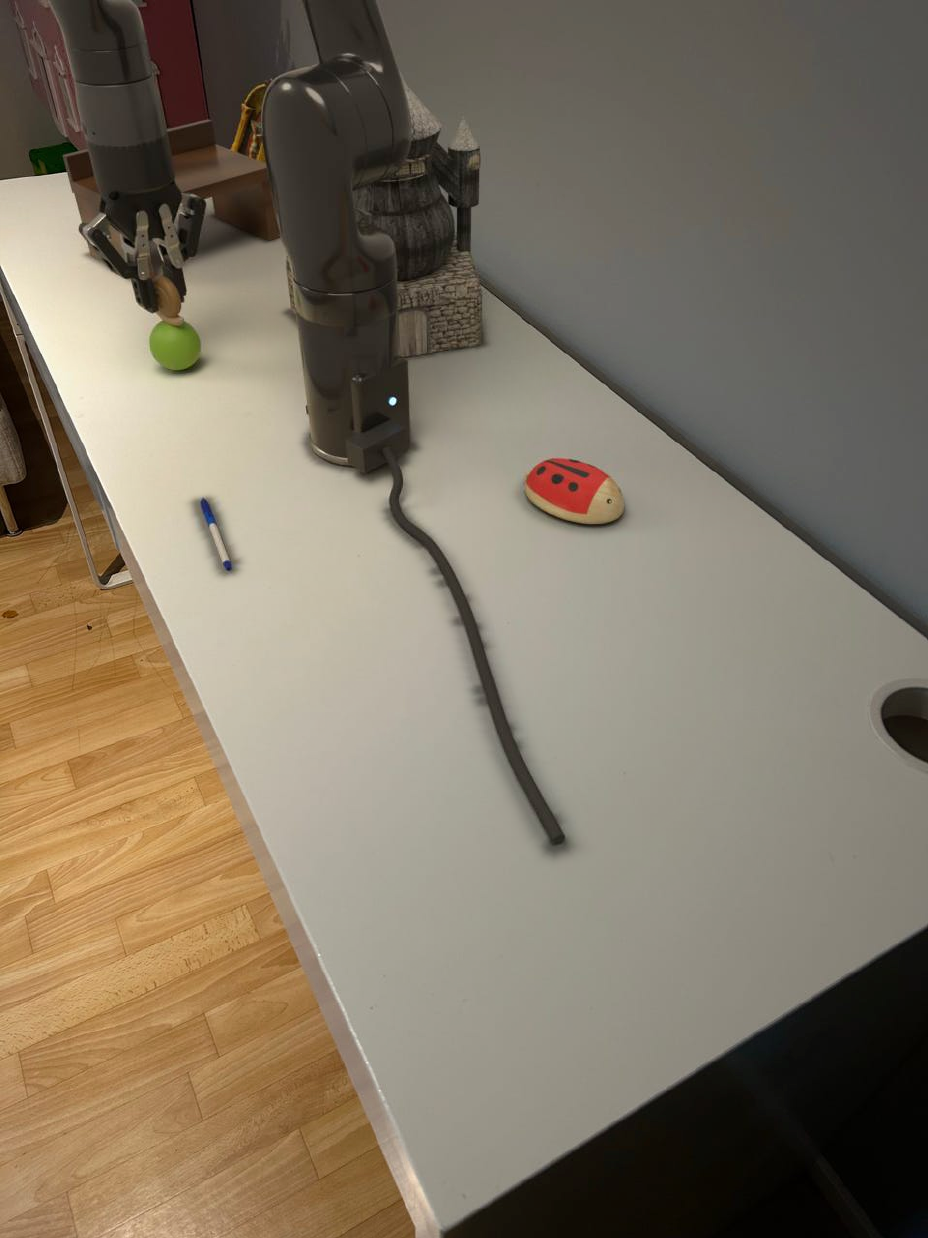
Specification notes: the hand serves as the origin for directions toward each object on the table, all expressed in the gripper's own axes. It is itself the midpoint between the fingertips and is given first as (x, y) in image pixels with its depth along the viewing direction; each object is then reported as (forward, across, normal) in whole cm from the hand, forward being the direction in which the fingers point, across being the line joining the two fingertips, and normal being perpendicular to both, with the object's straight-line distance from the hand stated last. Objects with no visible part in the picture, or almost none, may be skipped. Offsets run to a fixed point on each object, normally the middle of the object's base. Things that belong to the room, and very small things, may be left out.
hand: (164, 304), depth 100 cm
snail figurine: (+7, 0, 0) cm, 7 cm away
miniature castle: (+7, +24, -10) cm, 27 cm away
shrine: (+7, +40, +40) cm, 57 cm away
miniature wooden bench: (+7, +20, +28) cm, 35 cm away
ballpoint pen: (+7, -15, -28) cm, 33 cm away
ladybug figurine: (+7, +11, -48) cm, 50 cm away
